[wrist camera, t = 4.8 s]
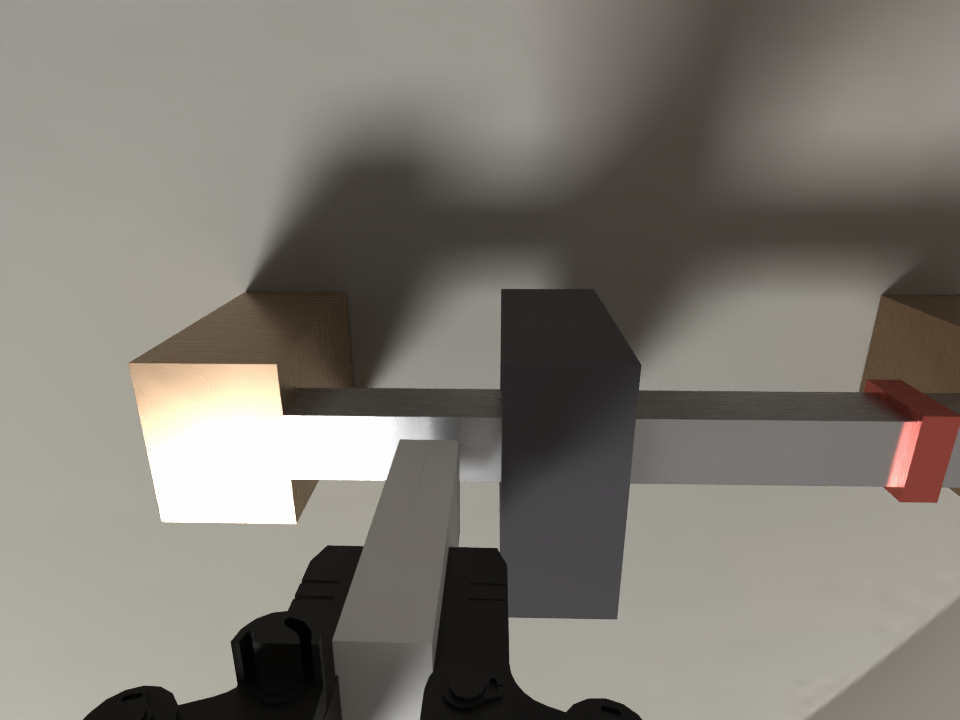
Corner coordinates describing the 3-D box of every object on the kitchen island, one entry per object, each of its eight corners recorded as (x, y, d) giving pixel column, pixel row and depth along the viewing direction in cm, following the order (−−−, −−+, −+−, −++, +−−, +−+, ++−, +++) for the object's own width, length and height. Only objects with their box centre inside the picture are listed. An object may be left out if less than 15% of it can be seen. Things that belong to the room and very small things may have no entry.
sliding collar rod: (244, 292, 24) (122, 367, 16) (962, 295, 23) (1198, 375, 15) (260, 408, 26) (156, 527, 18) (928, 415, 25) (1126, 542, 17)
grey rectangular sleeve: (501, 289, 20) (503, 363, 13) (593, 289, 20) (641, 364, 13) (499, 476, 22) (500, 617, 16) (581, 477, 22) (616, 619, 16)
